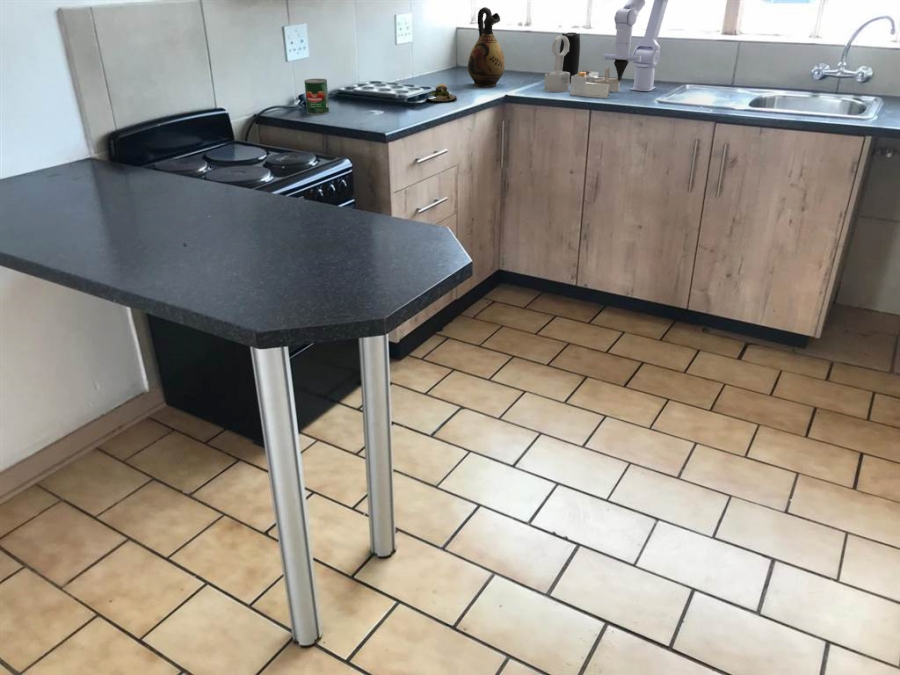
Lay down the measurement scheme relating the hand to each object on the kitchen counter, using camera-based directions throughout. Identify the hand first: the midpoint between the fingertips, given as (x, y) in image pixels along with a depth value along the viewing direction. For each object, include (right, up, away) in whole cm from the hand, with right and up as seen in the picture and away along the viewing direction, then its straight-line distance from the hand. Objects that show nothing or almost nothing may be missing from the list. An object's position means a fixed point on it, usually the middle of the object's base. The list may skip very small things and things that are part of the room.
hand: (619, 80), depth 289 cm
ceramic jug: (-51, +7, +25) cm, 58 cm away
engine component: (-22, +1, +15) cm, 27 cm away
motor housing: (-8, -3, +7) cm, 11 cm away
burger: (-69, -9, -4) cm, 70 cm away
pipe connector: (-4, -4, +4) cm, 7 cm away
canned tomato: (-113, -20, -23) cm, 117 cm away
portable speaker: (-15, +12, +35) cm, 40 cm away
